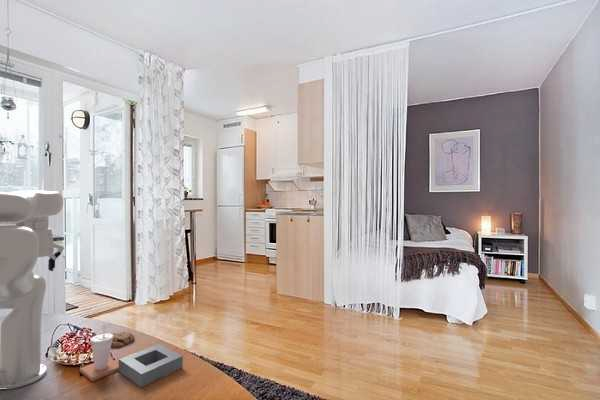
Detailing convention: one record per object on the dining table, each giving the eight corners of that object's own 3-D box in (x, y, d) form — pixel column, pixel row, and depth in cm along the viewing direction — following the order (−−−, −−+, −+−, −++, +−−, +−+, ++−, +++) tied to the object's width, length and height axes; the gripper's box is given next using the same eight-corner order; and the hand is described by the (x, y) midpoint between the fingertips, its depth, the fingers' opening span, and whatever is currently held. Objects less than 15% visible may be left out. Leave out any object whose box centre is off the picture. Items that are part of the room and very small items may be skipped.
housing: (141, 387, 96) (141, 374, 95) (118, 371, 104) (118, 359, 104) (182, 367, 107) (182, 355, 107) (158, 354, 115) (159, 343, 115)
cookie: (139, 341, 126) (139, 333, 126) (110, 351, 117) (111, 343, 117) (126, 334, 131) (126, 327, 131) (98, 343, 122) (98, 336, 122)
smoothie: (104, 372, 101) (105, 328, 101) (84, 371, 101) (85, 327, 101) (116, 362, 107) (117, 320, 107) (97, 361, 107) (99, 319, 107)
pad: (91, 381, 98) (92, 378, 98) (79, 371, 103) (79, 368, 103) (122, 368, 105) (122, 365, 105) (109, 360, 110) (109, 357, 110)
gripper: (4, 228, 105) (4, 279, 106) (67, 224, 119) (66, 270, 119) (0, 225, 110) (-1, 275, 110) (60, 222, 123) (60, 266, 124)
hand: (34, 272), depth 115 cm, fingers open, 9 cm apart
